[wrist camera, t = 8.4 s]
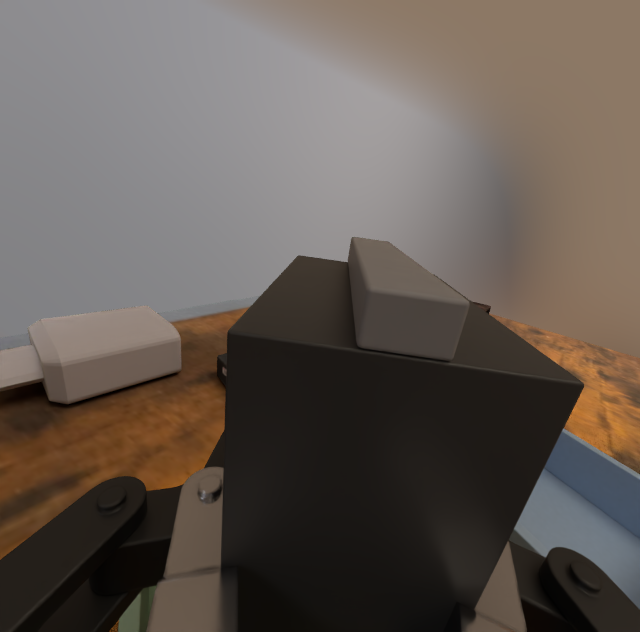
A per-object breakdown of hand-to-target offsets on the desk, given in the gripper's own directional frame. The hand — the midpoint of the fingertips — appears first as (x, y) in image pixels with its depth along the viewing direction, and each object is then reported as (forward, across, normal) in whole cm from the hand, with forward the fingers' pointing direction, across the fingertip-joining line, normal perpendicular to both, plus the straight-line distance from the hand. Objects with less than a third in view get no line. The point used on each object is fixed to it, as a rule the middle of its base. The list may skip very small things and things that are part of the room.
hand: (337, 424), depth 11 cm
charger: (+13, +22, +10) cm, 28 cm away
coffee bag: (-3, 0, +9) cm, 10 cm away
